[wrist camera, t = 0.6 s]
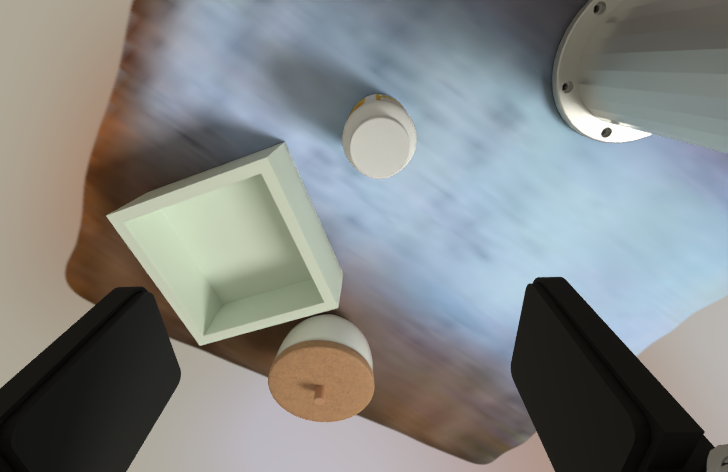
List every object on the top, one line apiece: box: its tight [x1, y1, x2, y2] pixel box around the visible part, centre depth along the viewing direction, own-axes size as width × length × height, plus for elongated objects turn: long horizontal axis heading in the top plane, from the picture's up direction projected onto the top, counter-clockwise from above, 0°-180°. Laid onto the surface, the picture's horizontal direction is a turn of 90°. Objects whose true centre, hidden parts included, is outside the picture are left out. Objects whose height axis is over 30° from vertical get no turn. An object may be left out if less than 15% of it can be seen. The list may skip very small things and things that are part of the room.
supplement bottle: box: [342, 94, 417, 179], centre depth 27 cm, size 5×5×10 cm
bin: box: [106, 142, 343, 345], centre depth 34 cm, size 15×15×6 cm
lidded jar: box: [268, 314, 374, 422], centre depth 38 cm, size 11×11×9 cm
